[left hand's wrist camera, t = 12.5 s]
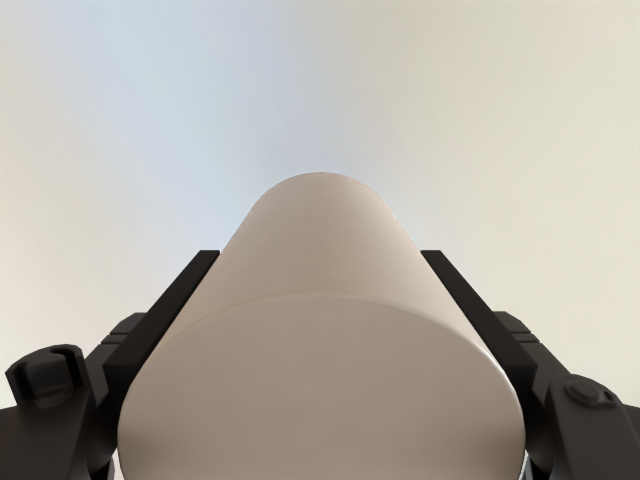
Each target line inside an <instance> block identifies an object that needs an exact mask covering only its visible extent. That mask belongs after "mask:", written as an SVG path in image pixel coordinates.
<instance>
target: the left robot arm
mask: <svg viewBox="0 0 640 480" xmlns="http://www.w3.org/2000/svg"><path fill="white" fill-rule="evenodd" d="M420 253H421V254H422V256H423V257H424V258H425V260H426V261H427V263H428V264H429V265H430V267H431V268H432V270H433V271H434V273H435V274H436V275H437V277H438V278H439V280H440V281H441V283H442V284H443V285H444V287H445V288H446V290H447V291H448V292H449V294H450V295H451V297H452V298H453V300H454V301H455V302H456V304H457V305H458V307H459V308H460V309H461V311H462V312H463V314H464V315H465V317H466V318H467V319H468V321H469V322H470V324H471V325H472V326H473V328H474V329H475V331H476V332H477V334H478V335H479V336H480V338H481V339H482V341H483V342H484V343H485V345H486V346H487V348H488V349H489V351H490V352H491V353H492V355H493V356H494V358H495V359H496V361H497V362H498V363H499V365H500V366H501V368H502V369H503V370H504V372H505V374H506V376H507V377H508V379H509V381H510V383H511V384H512V386H513V388H514V390H515V392H516V395H517V398H518V400H519V403H520V406H521V409H522V413H523V420H524V426H525V433H526V439H525V449H526V451H527V452H528V458H527V461H526V465H525V468H524V472H523V475H522V479H521V480H640V408H638V407H634V406H629V405H625V404H622V402H621V401H620V400H619V398H618V397H617V396H616V395H615V394H614V393H613V392H611V391H610V390H609V389H608V388H606V387H605V386H603V385H601V384H599V383H598V382H596V381H594V380H592V379H589V378H586V377H583V376H580V375H576V374H571V373H570V372H569V371H568V370H567V369H566V368H565V367H564V366H563V365H562V364H561V363H560V362H559V361H558V360H557V359H556V358H555V357H554V355H553V354H552V353H551V352H550V351H549V350H548V349H547V348H546V347H545V346H544V345H543V344H542V343H540V341H539V340H538V339H537V338H536V337H535V335H534V334H531V331H530V330H529V329H528V328H527V327H526V326H525V325H524V324H523V323H522V322H521V321H520V320H518V319H517V318H515V317H513V316H512V315H510V314H508V313H507V312H505V311H492V310H491V309H490V308H489V307H488V306H487V305H486V303H485V302H484V301H483V300H482V299H481V298H480V296H479V295H478V294H477V293H476V292H475V291H474V289H473V288H472V287H471V286H470V285H469V283H468V282H467V281H466V280H465V279H464V278H463V276H462V275H461V274H460V273H459V272H458V271H457V269H456V268H455V267H454V266H453V265H452V264H451V262H450V261H449V260H448V259H447V258H446V257H445V255H444V254H443V253H442V252H441V251H440V250H421V252H420ZM219 255H220V250H200V251H199V252H198V253H197V255H196V256H195V257H194V258H193V259H192V260H191V262H190V263H189V264H188V265H187V266H186V267H185V269H184V270H183V271H182V272H181V273H180V274H179V276H178V277H177V278H176V279H175V280H174V281H173V283H172V284H171V285H170V286H169V287H168V288H167V290H166V291H165V292H164V293H163V294H162V295H161V297H160V298H159V299H158V300H157V301H156V302H155V304H154V305H153V306H152V307H151V308H150V309H149V311H148V312H147V313H134V314H132V315H131V316H129V317H127V318H126V319H124V320H122V321H121V322H119V324H118V325H117V326H116V327H115V328H114V329H113V330H112V331H111V332H110V335H107V336H106V337H105V338H104V339H103V340H102V342H101V344H99V345H98V346H97V347H96V348H95V349H94V350H93V351H92V352H91V353H90V354H89V355H88V356H87V357H86V359H85V360H84V357H83V353H82V350H81V349H80V348H79V347H77V346H76V345H69V344H62V345H53V346H50V347H46V348H43V349H39V350H37V351H35V352H32V353H30V354H28V355H26V356H24V357H22V358H21V359H19V360H18V361H17V362H15V363H14V364H12V365H11V366H10V368H9V369H8V370H7V371H6V372H5V375H6V377H7V380H8V382H9V385H10V388H11V390H12V393H13V395H14V398H15V400H16V403H17V406H13V407H9V408H4V409H0V480H114V473H115V467H114V461H113V458H112V455H113V453H114V451H115V450H116V448H117V438H118V423H119V419H120V414H121V409H122V405H123V402H124V400H125V398H126V395H127V393H128V390H129V388H130V385H131V384H132V382H133V381H134V379H135V377H136V376H137V374H138V373H139V371H140V370H141V368H142V366H143V365H144V364H145V362H146V361H147V359H148V358H149V356H150V355H151V353H152V352H153V351H154V349H155V348H156V346H157V345H158V343H159V342H160V340H161V339H162V338H163V336H164V335H165V333H166V332H167V330H168V329H169V327H170V326H171V325H172V323H173V322H174V320H175V319H176V317H177V316H178V314H179V313H180V312H181V310H182V309H183V307H184V306H185V304H186V303H187V301H188V300H189V299H190V297H191V296H192V294H193V293H194V291H195V290H196V288H197V287H198V286H199V284H200V283H201V281H202V280H203V278H204V277H205V276H206V274H207V273H208V271H209V270H210V268H211V267H212V265H213V264H214V263H215V261H216V260H217V258H218V257H219Z"/></svg>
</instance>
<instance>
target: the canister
mask: <svg viewBox="0 0 640 480" xmlns="http://www.w3.org/2000/svg"><path fill="white" fill-rule="evenodd" d="M525 439H526V433H525V426H524V420H523V413H522V409H521V406H520V403H519V400H518V398H517V395H516V392H515V390H514V388H513V386H512V384H511V383H510V381H509V379H508V377H507V376H506V374H505V372H504V370H503V369H502V368H501V366H500V365H499V363H498V362H497V361H496V359H495V358H494V356H493V355H492V353H491V352H490V351H489V349H488V348H487V346H486V345H485V343H484V342H483V341H482V339H481V338H480V336H479V335H478V334H477V332H476V331H475V329H474V328H473V326H472V325H471V324H470V322H469V321H468V319H467V318H466V317H465V315H464V314H463V312H462V311H461V309H460V308H459V307H458V305H457V304H456V302H455V301H454V300H453V298H452V297H451V295H450V294H449V292H448V291H447V290H446V288H445V287H444V285H443V284H442V283H441V281H440V280H439V278H438V277H437V275H436V274H435V273H434V271H433V270H432V268H431V267H430V265H429V264H428V263H427V261H426V260H425V258H424V257H423V256H422V254H421V253H420V251H419V250H418V248H417V247H416V246H415V244H414V243H413V241H412V240H411V239H410V237H409V236H408V234H407V233H406V231H405V230H404V229H403V227H402V226H401V224H400V223H399V222H398V220H397V219H396V217H395V216H394V214H393V213H392V212H391V210H390V209H389V207H388V206H387V205H386V203H385V202H384V201H383V200H382V198H380V197H379V196H378V195H377V194H376V193H375V192H374V191H373V190H371V189H370V188H369V187H367V186H366V185H364V184H362V183H361V182H359V181H357V180H355V179H352V178H349V177H346V176H343V175H339V174H334V173H323V172H320V173H308V174H302V175H298V176H295V177H292V178H289V179H287V180H285V181H283V182H280V183H279V184H277V185H276V186H274V187H272V188H271V189H270V190H268V191H267V192H266V193H265V194H264V195H263V196H262V197H261V198H260V199H259V200H258V201H257V202H256V204H255V205H254V206H253V208H252V209H251V211H250V212H249V213H248V215H247V216H246V218H245V219H244V221H243V222H242V224H241V225H240V226H239V228H238V229H237V231H236V232H235V234H234V235H233V237H232V238H231V239H230V241H229V242H228V244H227V245H226V247H225V248H224V250H223V251H222V252H221V254H220V255H219V257H218V258H217V260H216V261H215V263H214V264H213V265H212V267H211V268H210V270H209V271H208V273H207V274H206V276H205V277H204V278H203V280H202V281H201V283H200V284H199V286H198V287H197V288H196V290H195V291H194V293H193V294H192V296H191V297H190V299H189V300H188V301H187V303H186V304H185V306H184V307H183V309H182V310H181V312H180V313H179V314H178V316H177V317H176V319H175V320H174V322H173V323H172V325H171V326H170V327H169V329H168V330H167V332H166V333H165V335H164V336H163V338H162V339H161V340H160V342H159V343H158V345H157V346H156V348H155V349H154V351H153V352H152V353H151V355H150V356H149V358H148V359H147V361H146V362H145V364H144V365H143V366H142V368H141V370H140V371H139V373H138V374H137V376H136V377H135V379H134V381H133V382H132V384H131V385H130V388H129V390H128V393H127V395H126V398H125V400H124V402H123V405H122V409H121V414H120V419H119V423H118V438H117V450H118V456H119V462H120V468H121V471H122V474H123V477H124V479H125V480H518V479H519V476H520V474H521V470H522V465H523V461H524V456H525Z"/></svg>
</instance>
